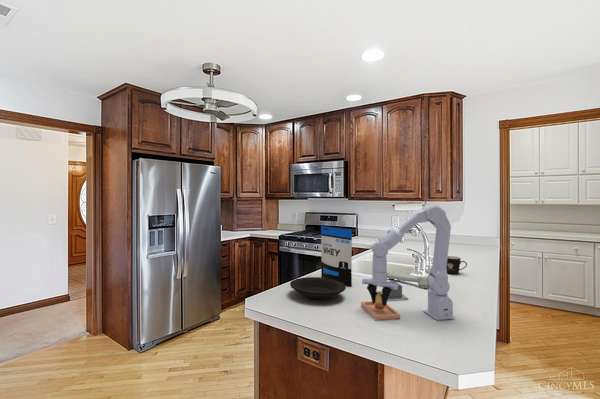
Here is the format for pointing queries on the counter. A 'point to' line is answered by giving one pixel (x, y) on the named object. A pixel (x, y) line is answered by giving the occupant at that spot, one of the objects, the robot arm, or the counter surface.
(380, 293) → the cylinder
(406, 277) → the pale grey long piece
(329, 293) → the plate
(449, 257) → the coffee mug
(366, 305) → the terracotta tray
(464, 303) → the counter surface
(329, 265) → the protein powder
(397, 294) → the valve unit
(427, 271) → the showerhead
